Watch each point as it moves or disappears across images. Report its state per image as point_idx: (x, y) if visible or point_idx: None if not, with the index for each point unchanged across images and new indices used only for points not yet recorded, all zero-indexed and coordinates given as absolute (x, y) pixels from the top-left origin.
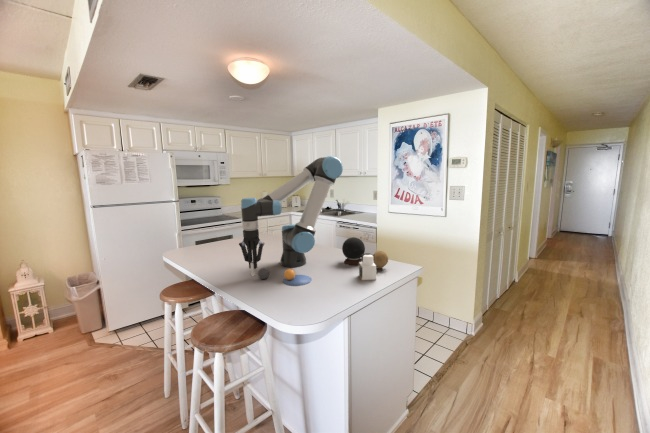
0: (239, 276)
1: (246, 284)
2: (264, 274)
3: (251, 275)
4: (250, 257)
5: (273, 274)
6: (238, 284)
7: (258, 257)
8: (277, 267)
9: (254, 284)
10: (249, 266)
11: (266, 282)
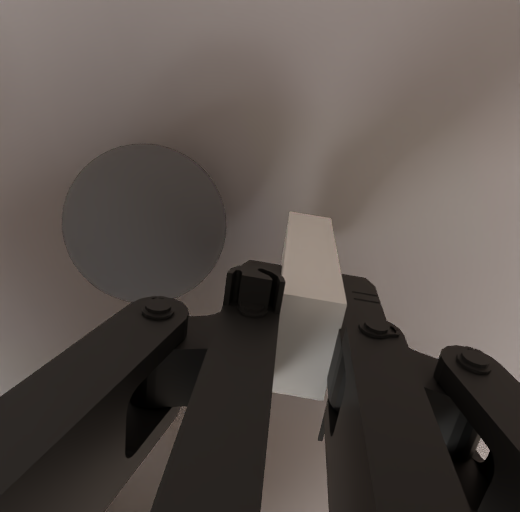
0: (506, 300)
1: (348, 3)
2: (103, 154)
3: (326, 218)
4: (352, 405)
5: None
6: (469, 3)
7: (88, 355)
8: (139, 506)
9: (233, 3)
10: (369, 295)
11: (96, 79)
